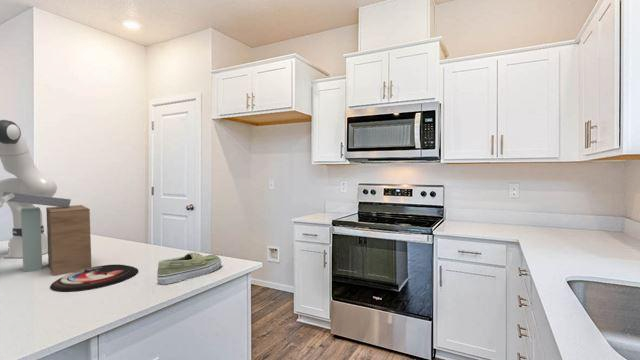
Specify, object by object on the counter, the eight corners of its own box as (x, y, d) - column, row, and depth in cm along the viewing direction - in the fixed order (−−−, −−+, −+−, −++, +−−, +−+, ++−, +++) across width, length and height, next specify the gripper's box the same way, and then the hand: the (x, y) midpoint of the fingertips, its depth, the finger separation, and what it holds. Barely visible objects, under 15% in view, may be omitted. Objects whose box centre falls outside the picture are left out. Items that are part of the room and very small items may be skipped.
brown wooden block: (48, 264, 151) (46, 207, 150) (83, 259, 160) (81, 205, 159) (53, 275, 135) (50, 211, 134) (91, 268, 144) (89, 208, 143)
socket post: (23, 268, 146) (20, 207, 145) (41, 265, 150) (38, 206, 149) (23, 272, 140) (21, 209, 139) (42, 269, 144) (40, 208, 143)
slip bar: (2, 200, 137) (4, 191, 137) (68, 207, 150) (70, 199, 151) (1, 200, 134) (3, 191, 134) (68, 207, 147) (70, 199, 148)
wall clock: (83, 303, 113) (154, 271, 142) (82, 290, 113) (153, 260, 141) (32, 293, 122) (108, 265, 150) (30, 281, 122) (107, 255, 150)
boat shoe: (227, 267, 145) (227, 247, 145) (169, 288, 120) (168, 264, 120) (211, 264, 150) (210, 244, 150) (151, 283, 126) (151, 260, 125)
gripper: (-37, 209, 121) (8, 188, 129) (-32, 204, 136) (8, 186, 144) (-23, 223, 123) (19, 202, 131) (-20, 217, 138) (18, 198, 146)
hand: (13, 194), depth 137 cm, fingers closed on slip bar, 4 cm apart
